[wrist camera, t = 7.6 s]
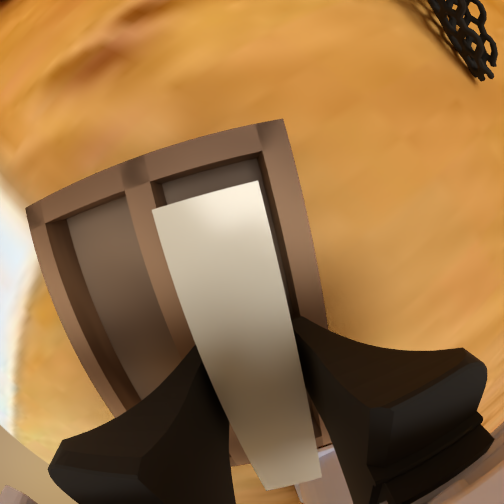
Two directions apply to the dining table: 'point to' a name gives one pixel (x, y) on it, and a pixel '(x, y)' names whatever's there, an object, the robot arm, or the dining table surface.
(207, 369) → the clay strip
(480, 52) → the decorative element
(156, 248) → the rack
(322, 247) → the dining table surface
